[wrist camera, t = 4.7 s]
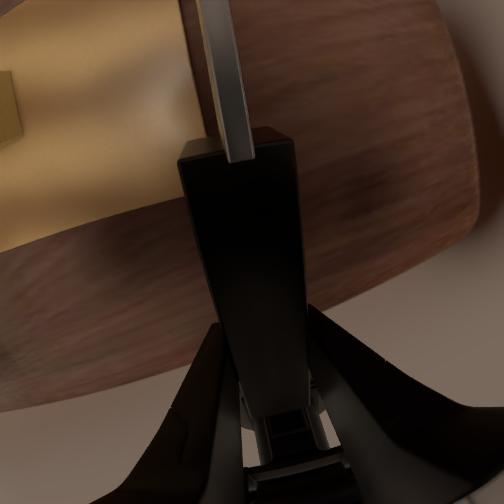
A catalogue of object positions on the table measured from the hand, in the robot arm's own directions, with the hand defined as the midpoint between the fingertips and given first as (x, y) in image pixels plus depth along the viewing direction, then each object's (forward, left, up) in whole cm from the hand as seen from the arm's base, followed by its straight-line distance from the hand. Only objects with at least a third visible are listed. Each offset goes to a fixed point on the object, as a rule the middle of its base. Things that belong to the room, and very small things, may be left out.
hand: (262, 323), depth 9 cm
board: (+9, +12, -9) cm, 17 cm away
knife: (+6, 0, -1) cm, 6 cm away
